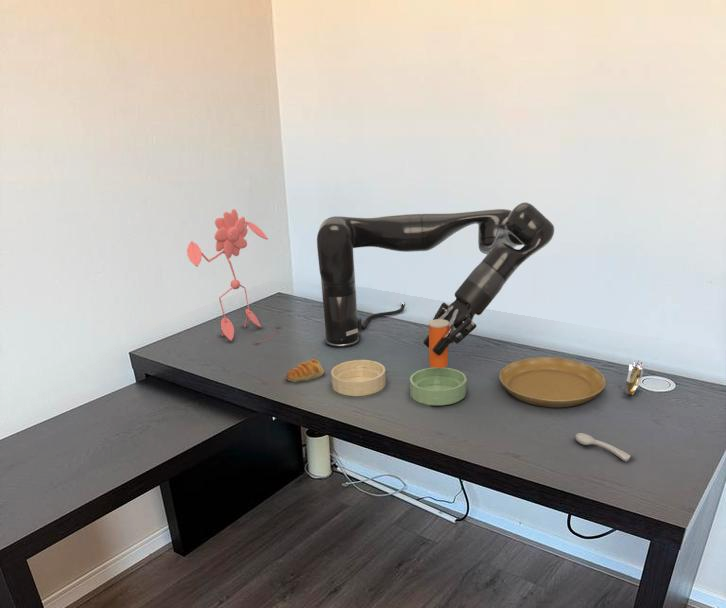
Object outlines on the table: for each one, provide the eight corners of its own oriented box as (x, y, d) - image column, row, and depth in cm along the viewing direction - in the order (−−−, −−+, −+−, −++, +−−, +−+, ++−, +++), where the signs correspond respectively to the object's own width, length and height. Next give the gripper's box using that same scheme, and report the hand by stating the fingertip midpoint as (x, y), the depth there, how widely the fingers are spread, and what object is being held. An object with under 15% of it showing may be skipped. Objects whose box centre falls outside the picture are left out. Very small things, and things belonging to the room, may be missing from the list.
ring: (631, 401, 154) (637, 368, 150) (617, 397, 156) (623, 365, 152) (644, 390, 158) (650, 358, 154) (631, 387, 160) (637, 355, 156)
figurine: (198, 344, 198) (173, 218, 179) (262, 318, 214) (246, 200, 195) (233, 355, 189) (211, 224, 170) (297, 327, 205) (284, 204, 186)
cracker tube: (431, 359, 160) (431, 318, 155) (450, 361, 159) (451, 319, 153) (426, 367, 157) (426, 325, 151) (445, 369, 155) (446, 326, 150)
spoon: (579, 436, 142) (581, 428, 141) (631, 460, 135) (633, 452, 133) (571, 441, 140) (573, 433, 139) (623, 466, 133) (625, 458, 132)
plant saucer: (622, 385, 161) (624, 372, 159) (571, 423, 147) (573, 409, 145) (532, 361, 176) (533, 349, 174) (478, 394, 161) (479, 381, 159)
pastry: (296, 387, 170) (294, 372, 168) (281, 379, 174) (279, 365, 172) (326, 376, 174) (325, 362, 172) (311, 368, 179) (310, 355, 177)
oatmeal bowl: (343, 373, 176) (342, 357, 173) (392, 378, 171) (392, 362, 169) (324, 394, 165) (322, 378, 163) (375, 400, 161) (374, 384, 159)
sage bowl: (418, 380, 169) (418, 364, 167) (471, 386, 165) (471, 370, 163) (403, 403, 159) (402, 387, 157) (458, 410, 155) (459, 393, 153)
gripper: (506, 307, 148) (455, 369, 152) (475, 289, 160) (428, 347, 163) (485, 286, 144) (433, 351, 147) (455, 270, 155) (407, 330, 159)
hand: (430, 349), depth 155 cm, fingers closed on cracker tube, 4 cm apart
